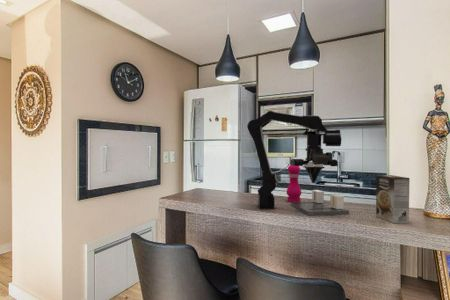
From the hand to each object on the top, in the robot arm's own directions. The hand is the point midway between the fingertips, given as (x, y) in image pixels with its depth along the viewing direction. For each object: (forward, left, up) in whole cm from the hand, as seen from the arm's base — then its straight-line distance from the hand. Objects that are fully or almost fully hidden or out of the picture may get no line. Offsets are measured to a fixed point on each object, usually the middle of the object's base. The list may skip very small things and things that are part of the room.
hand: (313, 183), depth 106 cm
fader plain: (+6, +9, -10) cm, 15 cm away
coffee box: (+22, -16, -12) cm, 30 cm away
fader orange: (+9, -3, -10) cm, 14 cm away
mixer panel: (+3, +2, -12) cm, 12 cm away
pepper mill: (-1, +20, -12) cm, 23 cm away
